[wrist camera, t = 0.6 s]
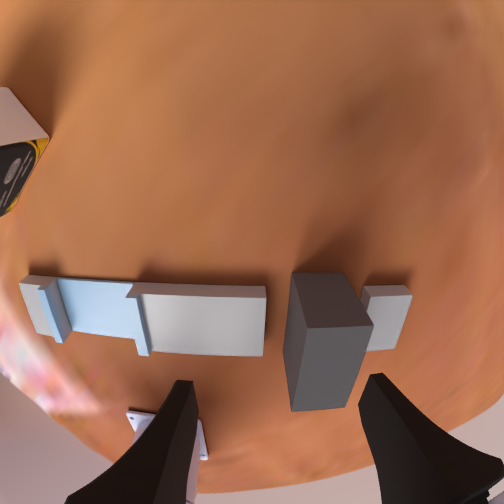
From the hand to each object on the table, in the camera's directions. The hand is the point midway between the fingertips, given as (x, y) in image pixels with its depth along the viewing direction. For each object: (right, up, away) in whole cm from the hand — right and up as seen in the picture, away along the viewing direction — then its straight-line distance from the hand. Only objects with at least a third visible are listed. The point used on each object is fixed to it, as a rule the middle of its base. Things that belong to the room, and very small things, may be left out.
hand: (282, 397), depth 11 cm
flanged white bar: (-5, +1, +10) cm, 11 cm away
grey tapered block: (+3, +1, +10) cm, 11 cm away
